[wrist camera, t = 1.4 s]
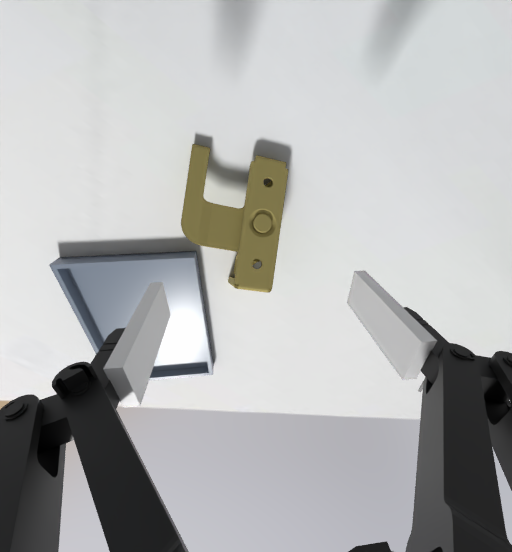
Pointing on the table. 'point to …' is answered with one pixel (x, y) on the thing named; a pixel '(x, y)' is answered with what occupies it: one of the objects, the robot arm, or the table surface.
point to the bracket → (239, 219)
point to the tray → (127, 295)
